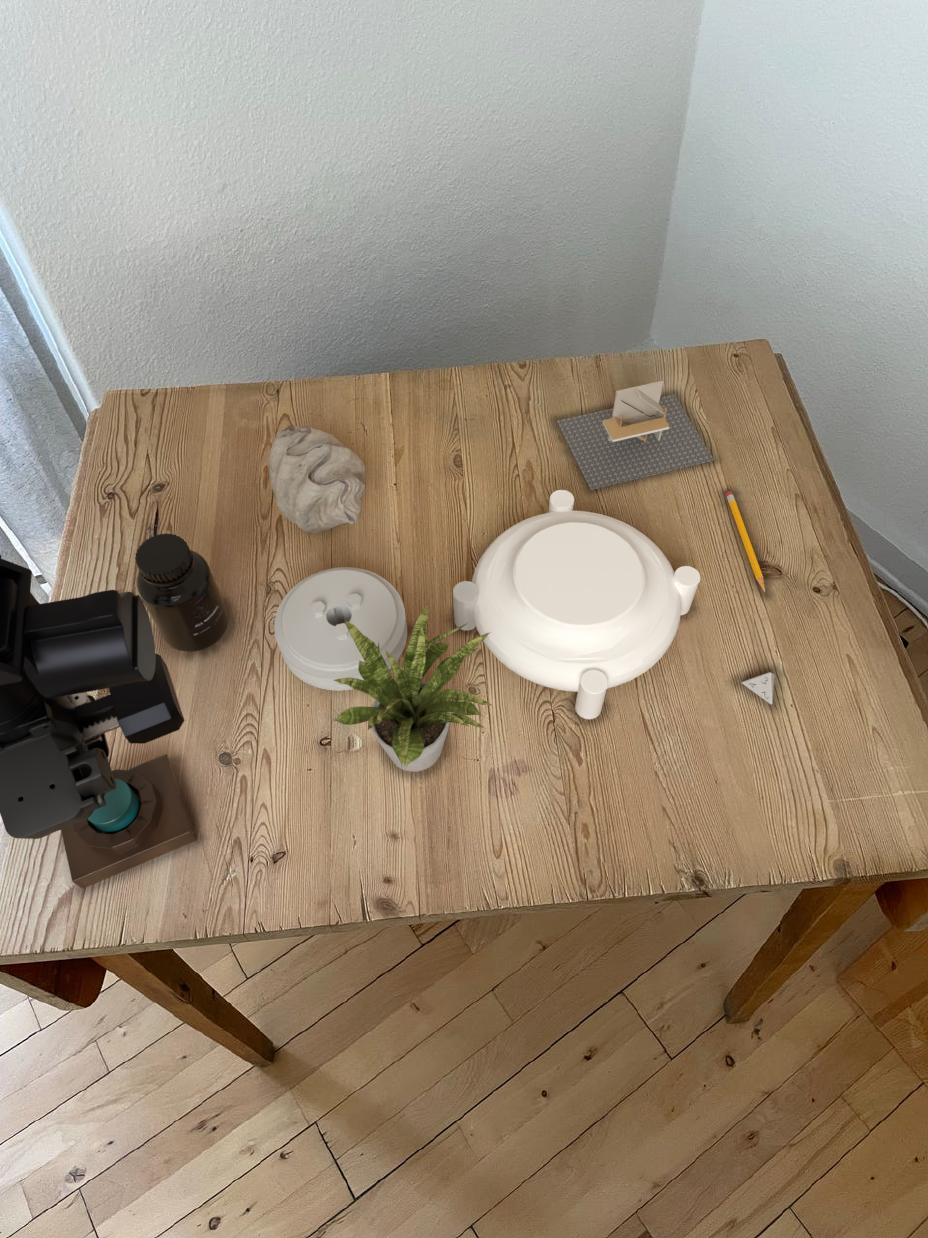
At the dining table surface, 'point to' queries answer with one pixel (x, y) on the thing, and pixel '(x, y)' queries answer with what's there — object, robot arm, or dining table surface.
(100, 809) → the press top
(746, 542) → the pencil
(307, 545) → the dining table surface
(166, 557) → the supplement bottle
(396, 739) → the house plant
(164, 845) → the button housing
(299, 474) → the seashell
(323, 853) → the dining table surface
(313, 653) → the lid
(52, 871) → the dining table surface
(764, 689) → the tetrahedral die
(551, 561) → the round stand with pegs
